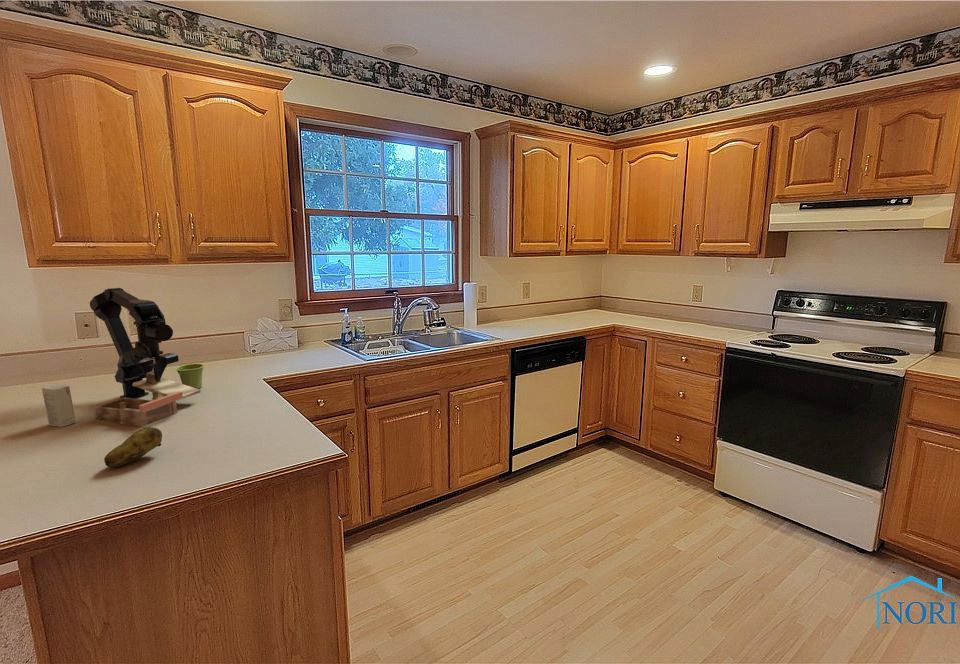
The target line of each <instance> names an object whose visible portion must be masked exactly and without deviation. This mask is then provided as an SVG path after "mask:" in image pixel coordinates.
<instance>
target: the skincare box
mask: <svg viewBox="0 0 960 664" xmlns="http://www.w3.org/2000/svg"><path fill="white" fill-rule="evenodd" d="M41 391H42V397H43V401H44V406H45V411H46V416H47V421H48V425H49V426H52V427H60V428H63V427H65V426H69V425H72V424H75V423H77V418H76V413H75V408H74V404H73V399H72V392H71V389H70V385H65V384H64V385H63V384H53V385H48V386H45V387H42V388H41Z"/></svg>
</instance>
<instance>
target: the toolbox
mask: <svg viewBox="0 0 960 664" xmlns="http://www.w3.org/2000/svg"><path fill="white" fill-rule="evenodd" d="M151 394H152V397H151V400H150V399H141V398H126V397H125V398H119V399H116V400H113V401H112V400H111V401H109V402H107V403H104V404H99V405H98V406H95V407H94V411H95V417H96V420H102V421H108V422H109V421H110V422H115V423H117V422H118V423H120V425H124V426H125V425H127V426H133V427H140V428H145V427H147V425H148V424H152V423H154V422H156V421H159V420H162V419H165V418H167V417H169V416H172V415H176V414H178V409H177V400H175V401H173V402H170V403H167V404H164V405H162V406H159V407H156V408H154V409H151V410H148V411H145V412H139V405H142V404H145V403H147V402H150V401H153V400H156V399H159V398H162V397H163V396H162V397H161V396H159V394H158V391H154V392H151Z"/></svg>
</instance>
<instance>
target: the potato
mask: <svg viewBox="0 0 960 664" xmlns="http://www.w3.org/2000/svg"><path fill="white" fill-rule="evenodd" d="M162 440H163V433H162V431H161V429H159V428H157V427H152V426H144V427H141V428H139V429H138V430H136V431H135V432H133V433H132V434H131V435H130V436H128V437H127V438H126V439H125V440H124V441H123V442H122V443H121V444H120V445H118V446H116V447H114V448H113V449H112V450H110V451H109V452H108V453H107V454H106V455H105V456H104V459H103V460H104V464H105V466H106V467H108V468H119V467H122V466H124V465H127V464H130V463H132V462H135V461H137V460H138V459H141V458H142V457H143V456H145V455H147V453H149V452H151V451H152V450H154V449H156V448H157V447H160V446H161V447H162Z"/></svg>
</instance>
